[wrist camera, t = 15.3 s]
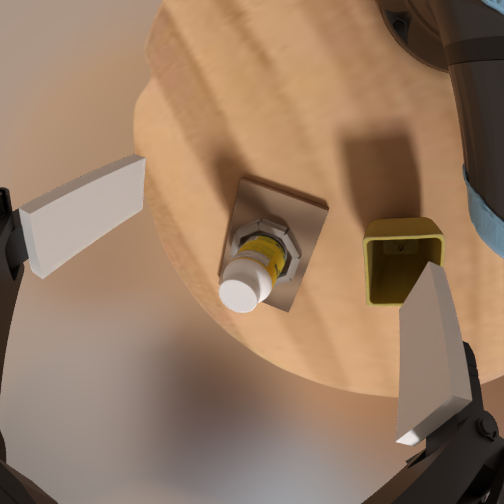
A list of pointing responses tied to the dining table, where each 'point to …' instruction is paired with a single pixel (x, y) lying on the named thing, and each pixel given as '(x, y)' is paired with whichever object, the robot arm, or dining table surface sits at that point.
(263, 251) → the pill bottle
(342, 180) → the dining table surface
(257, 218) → the collar base
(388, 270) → the flower pot
